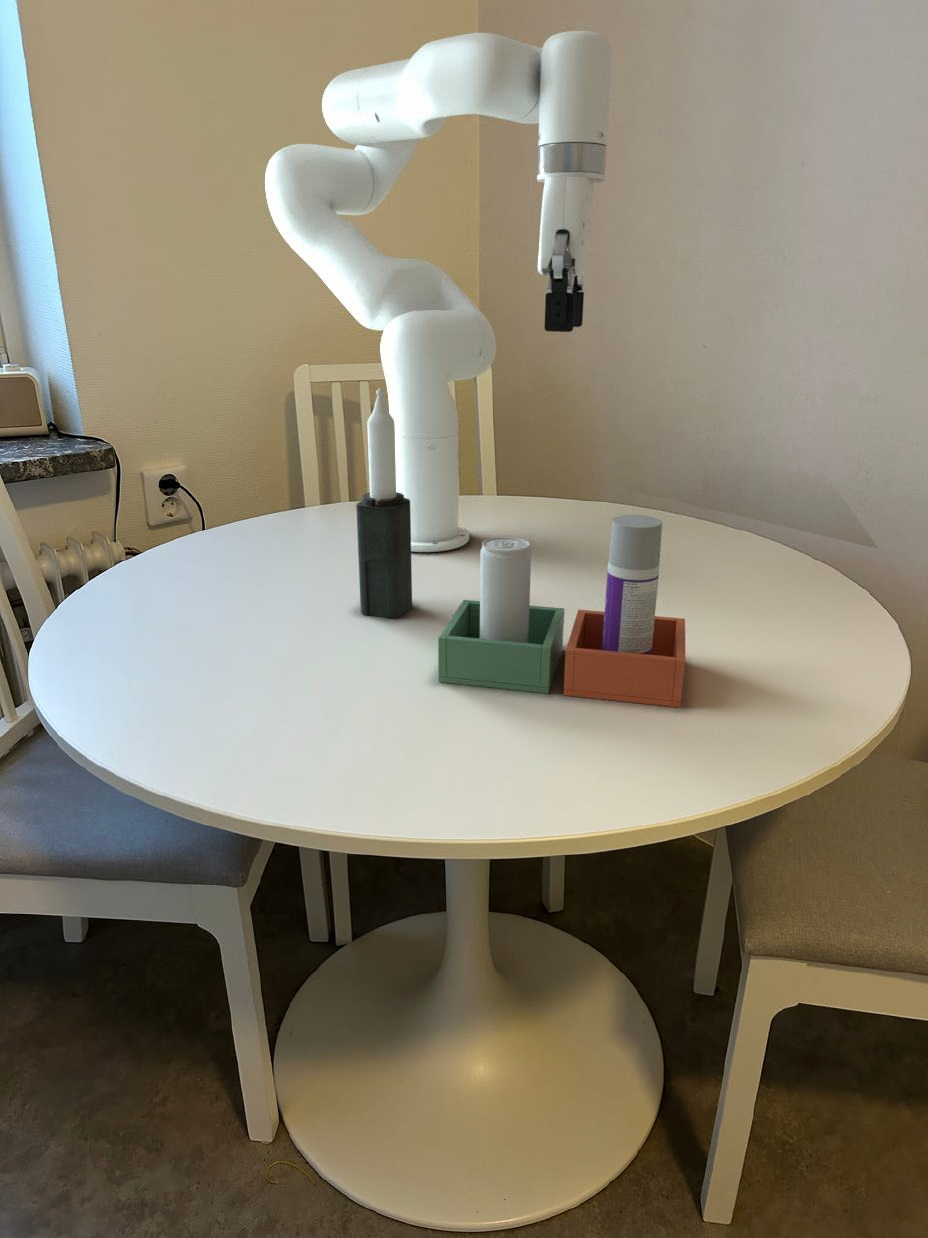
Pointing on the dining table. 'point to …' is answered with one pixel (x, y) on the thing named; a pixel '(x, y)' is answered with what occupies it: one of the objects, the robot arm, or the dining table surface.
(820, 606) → the dining table surface
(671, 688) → the terracotta bin
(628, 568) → the container
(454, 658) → the sage bin
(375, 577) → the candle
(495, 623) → the beverage can
